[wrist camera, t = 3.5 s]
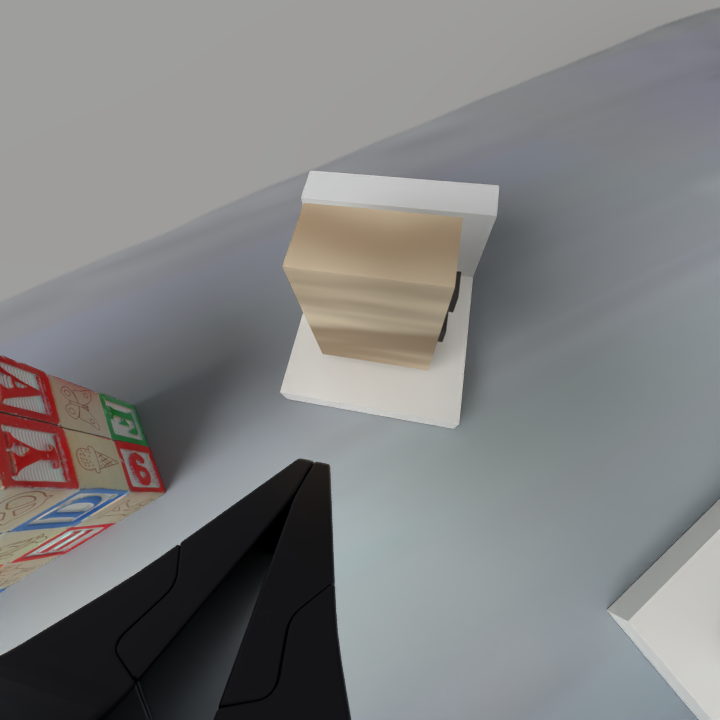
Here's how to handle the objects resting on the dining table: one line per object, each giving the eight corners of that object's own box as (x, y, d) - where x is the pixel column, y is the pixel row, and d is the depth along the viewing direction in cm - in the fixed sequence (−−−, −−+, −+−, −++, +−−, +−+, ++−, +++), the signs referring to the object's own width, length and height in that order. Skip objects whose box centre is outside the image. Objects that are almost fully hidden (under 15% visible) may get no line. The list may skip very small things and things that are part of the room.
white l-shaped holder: (454, 428, 19) (484, 398, 13) (287, 398, 21) (245, 359, 15) (470, 263, 23) (499, 182, 17) (329, 247, 25) (311, 167, 19)
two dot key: (435, 371, 19) (467, 289, 11) (322, 353, 19) (282, 266, 12) (441, 323, 20) (474, 218, 12) (333, 308, 20) (303, 202, 13)
